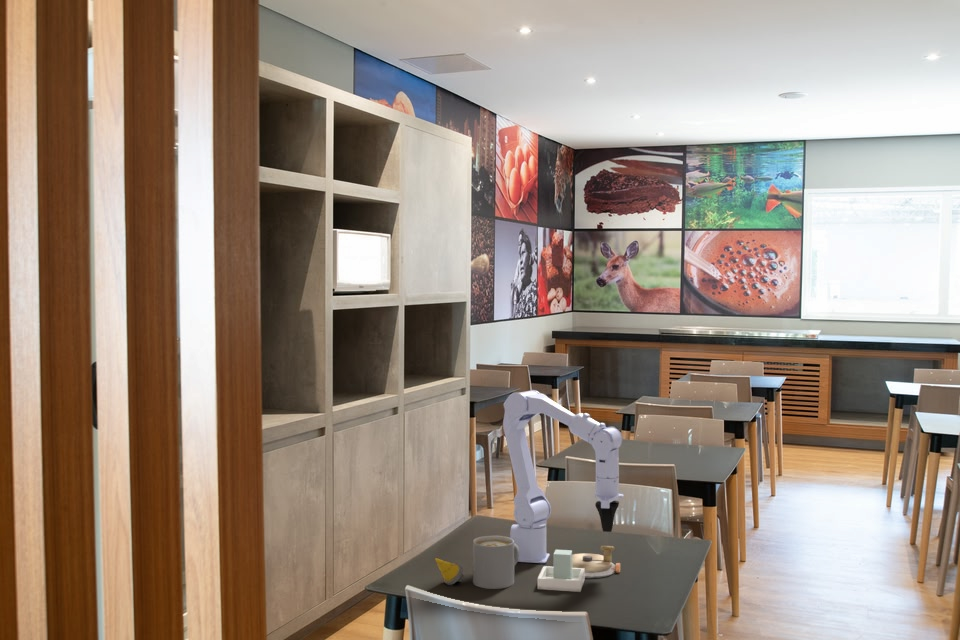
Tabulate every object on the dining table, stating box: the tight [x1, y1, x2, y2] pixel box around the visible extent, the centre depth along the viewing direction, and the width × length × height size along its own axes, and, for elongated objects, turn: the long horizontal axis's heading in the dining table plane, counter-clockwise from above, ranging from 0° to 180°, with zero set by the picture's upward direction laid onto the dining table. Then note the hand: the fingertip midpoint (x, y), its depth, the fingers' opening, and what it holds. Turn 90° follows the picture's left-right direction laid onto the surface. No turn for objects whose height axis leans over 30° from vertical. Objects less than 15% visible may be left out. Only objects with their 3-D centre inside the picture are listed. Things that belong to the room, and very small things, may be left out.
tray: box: [537, 565, 586, 593], centre depth 209 cm, size 10×10×2 cm
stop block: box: [552, 549, 573, 579], centre depth 209 cm, size 4×4×7 cm
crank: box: [572, 545, 616, 572], centre depth 220 cm, size 13×12×5 cm
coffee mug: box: [472, 535, 519, 590], centre depth 211 cm, size 13×10×10 cm
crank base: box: [585, 562, 621, 579], centre depth 220 cm, size 15×14×2 cm
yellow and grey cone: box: [434, 557, 465, 586], centre depth 209 cm, size 5×5×10 cm
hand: (607, 531), depth 218 cm, fingers closed
